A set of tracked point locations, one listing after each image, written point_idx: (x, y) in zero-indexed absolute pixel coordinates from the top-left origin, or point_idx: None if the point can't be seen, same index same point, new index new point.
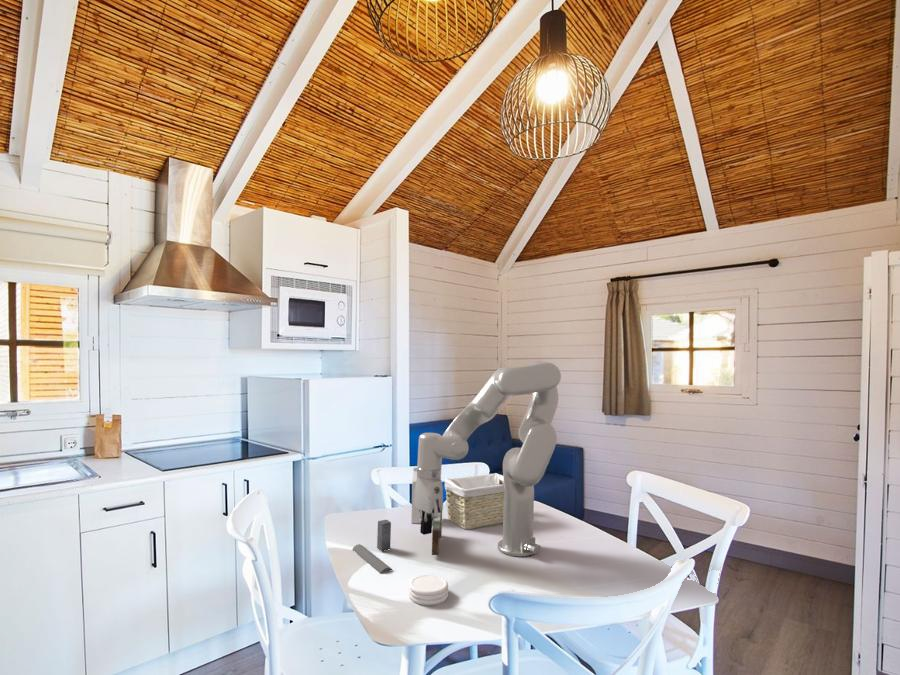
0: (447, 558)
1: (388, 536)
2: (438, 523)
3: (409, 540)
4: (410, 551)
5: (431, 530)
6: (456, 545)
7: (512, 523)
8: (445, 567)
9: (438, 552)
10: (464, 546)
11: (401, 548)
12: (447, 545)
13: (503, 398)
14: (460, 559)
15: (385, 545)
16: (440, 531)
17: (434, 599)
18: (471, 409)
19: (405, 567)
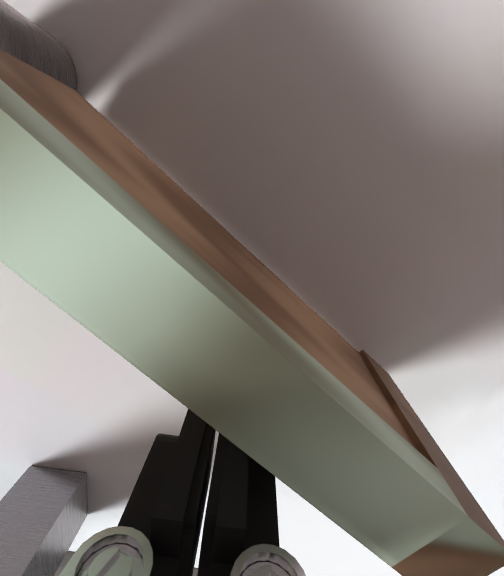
0: (411, 305)
1: (32, 571)
2: (296, 392)
3: (6, 306)
4: (170, 406)
5: None
6: (291, 74)
7: None
8: (488, 398)
9: (395, 385)
10: (355, 27)
11: (100, 418)
12: (242, 141)
13: None
14: (493, 248)
15: (68, 527)
16: (38, 48)
17: None
18: None
19: (323, 533)
